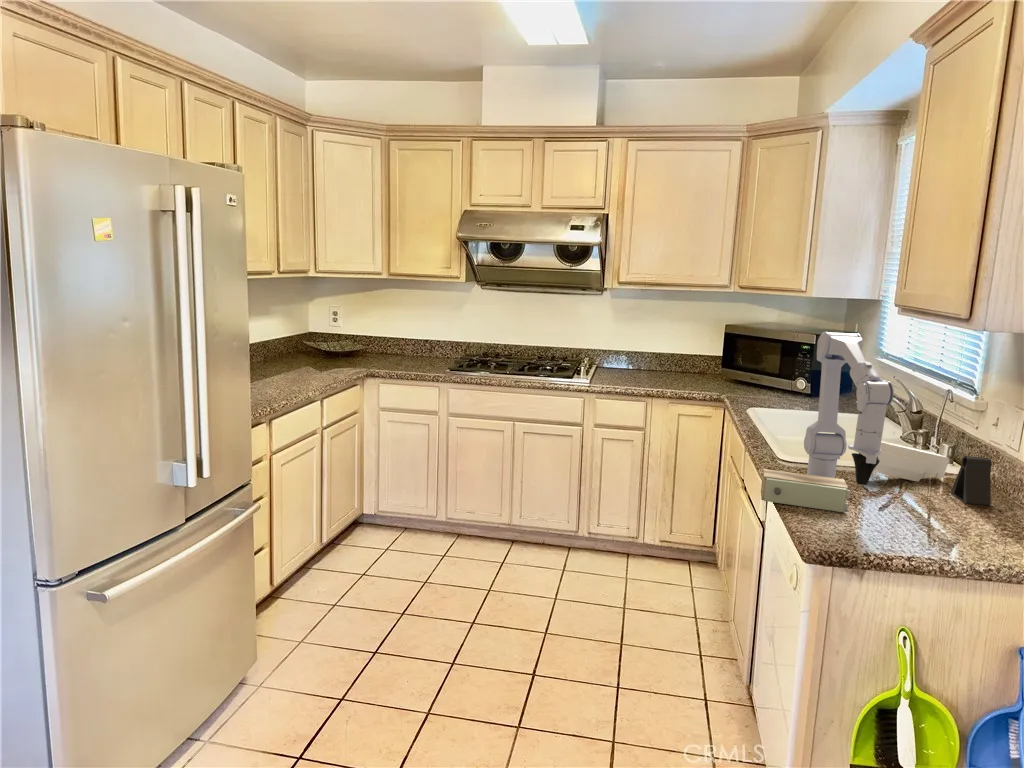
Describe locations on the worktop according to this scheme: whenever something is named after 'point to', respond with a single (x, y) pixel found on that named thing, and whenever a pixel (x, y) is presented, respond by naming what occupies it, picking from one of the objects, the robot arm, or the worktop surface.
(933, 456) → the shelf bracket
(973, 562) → the worktop surface
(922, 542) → the worktop surface
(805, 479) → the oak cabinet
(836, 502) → the cabinet door
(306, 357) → the worktop surface
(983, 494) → the door stopper
